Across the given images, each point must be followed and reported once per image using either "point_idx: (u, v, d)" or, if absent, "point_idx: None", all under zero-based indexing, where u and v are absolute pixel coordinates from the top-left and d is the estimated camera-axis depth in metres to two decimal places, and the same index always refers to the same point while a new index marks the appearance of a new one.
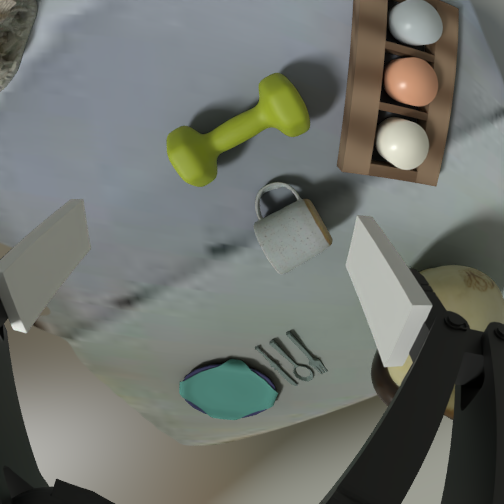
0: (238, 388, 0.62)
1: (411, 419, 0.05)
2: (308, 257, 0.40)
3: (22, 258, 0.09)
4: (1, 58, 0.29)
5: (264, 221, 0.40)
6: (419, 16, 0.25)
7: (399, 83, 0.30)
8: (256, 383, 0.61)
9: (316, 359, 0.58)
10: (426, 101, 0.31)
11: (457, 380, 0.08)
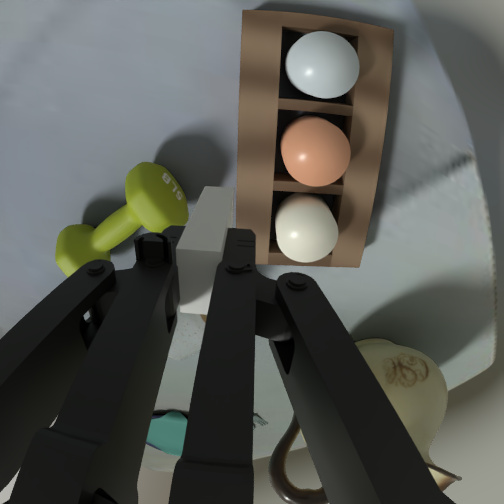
0: (184, 433, 0.60)
1: (222, 369, 0.06)
2: None
3: None
4: None
5: None
6: (320, 58, 0.23)
7: (291, 160, 0.27)
8: None
9: (253, 415, 0.56)
10: (332, 178, 0.28)
11: (255, 330, 0.10)
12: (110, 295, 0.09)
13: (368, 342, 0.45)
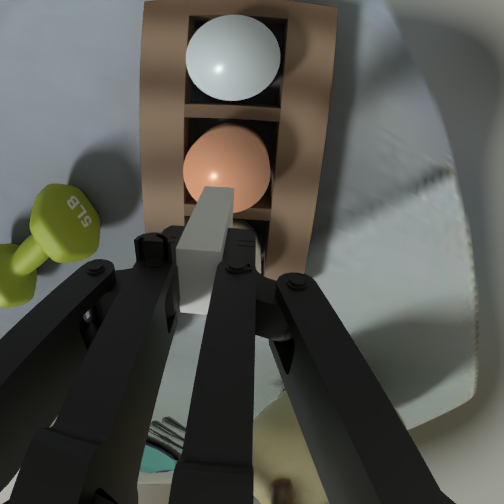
0: None
1: (222, 369, 0.06)
2: None
3: None
4: None
5: None
6: (227, 49, 0.17)
7: (193, 182, 0.22)
8: (154, 451, 0.54)
9: None
10: (247, 202, 0.23)
11: (255, 330, 0.10)
12: (110, 295, 0.09)
13: None
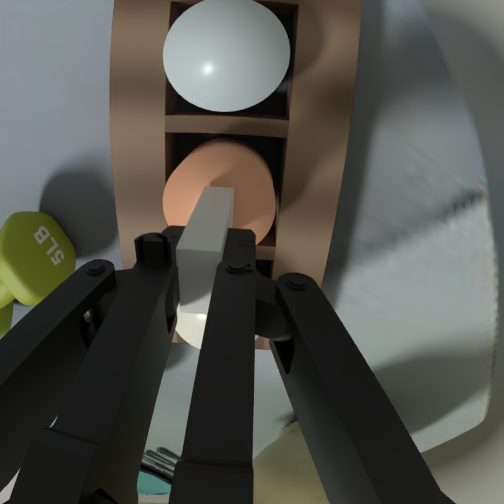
0: None
1: (222, 369, 0.06)
2: None
3: None
4: None
5: None
6: (217, 42, 0.13)
7: (176, 218, 0.17)
8: (149, 476, 0.49)
9: None
10: None
11: (255, 330, 0.10)
12: (110, 295, 0.09)
13: None
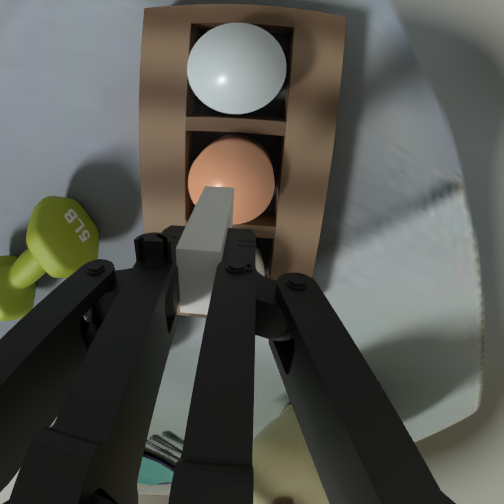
0: None
1: (222, 369, 0.06)
2: None
3: None
4: None
5: None
6: (230, 59, 0.17)
7: (198, 193, 0.22)
8: (154, 463, 0.52)
9: None
10: (252, 214, 0.23)
11: (255, 330, 0.10)
12: (110, 295, 0.09)
13: None
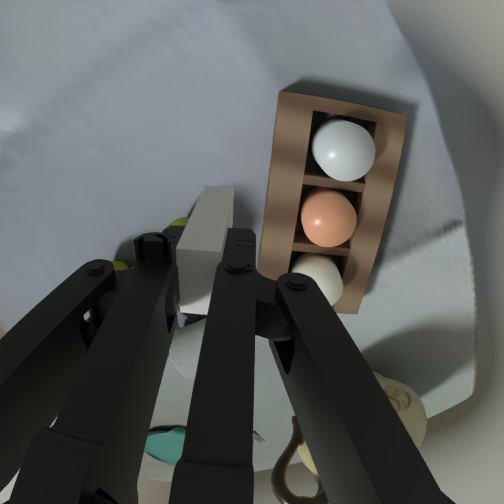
0: None
1: (222, 369, 0.06)
2: None
3: None
4: None
5: (177, 335, 0.43)
6: (344, 146, 0.29)
7: (308, 226, 0.35)
8: None
9: None
10: (340, 241, 0.35)
11: (255, 330, 0.10)
12: (110, 295, 0.09)
13: None
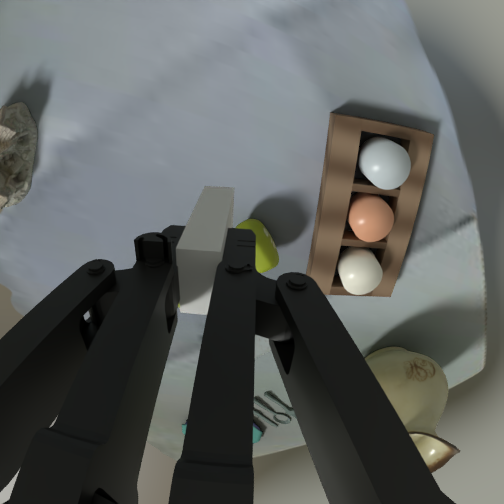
0: None
1: (222, 369, 0.06)
2: None
3: None
4: (12, 181, 0.39)
5: None
6: (387, 162, 0.35)
7: (356, 225, 0.41)
8: None
9: (291, 409, 0.68)
10: (380, 236, 0.42)
11: (255, 330, 0.10)
12: (110, 295, 0.09)
13: (389, 349, 0.57)
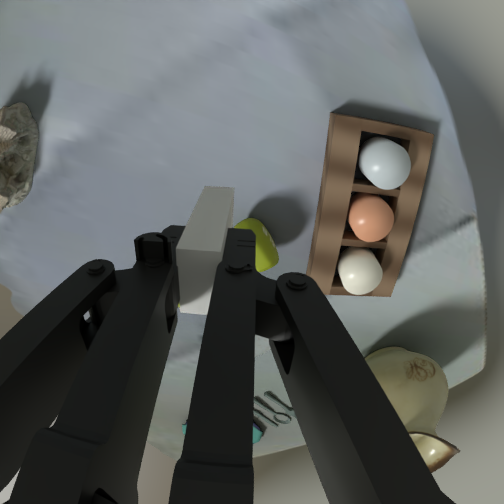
0: None
1: (222, 369, 0.06)
2: None
3: None
4: (13, 182, 0.39)
5: None
6: (387, 162, 0.35)
7: (356, 225, 0.41)
8: None
9: (291, 409, 0.68)
10: (380, 236, 0.42)
11: (255, 330, 0.10)
12: (110, 295, 0.09)
13: (389, 349, 0.57)
